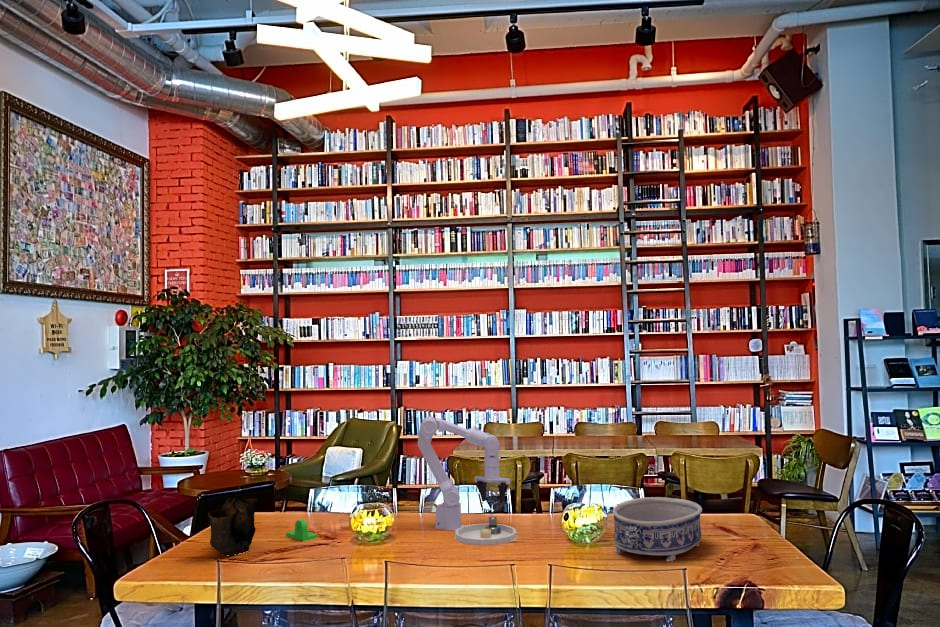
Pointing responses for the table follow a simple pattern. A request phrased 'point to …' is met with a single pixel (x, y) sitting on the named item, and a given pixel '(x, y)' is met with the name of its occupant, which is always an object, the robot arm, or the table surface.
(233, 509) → the pottery vessel
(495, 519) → the planet gear
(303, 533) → the mechanical part
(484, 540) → the carrier
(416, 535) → the table surface
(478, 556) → the table surface
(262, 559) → the table surface
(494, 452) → the robot arm
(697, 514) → the decorative bowl
